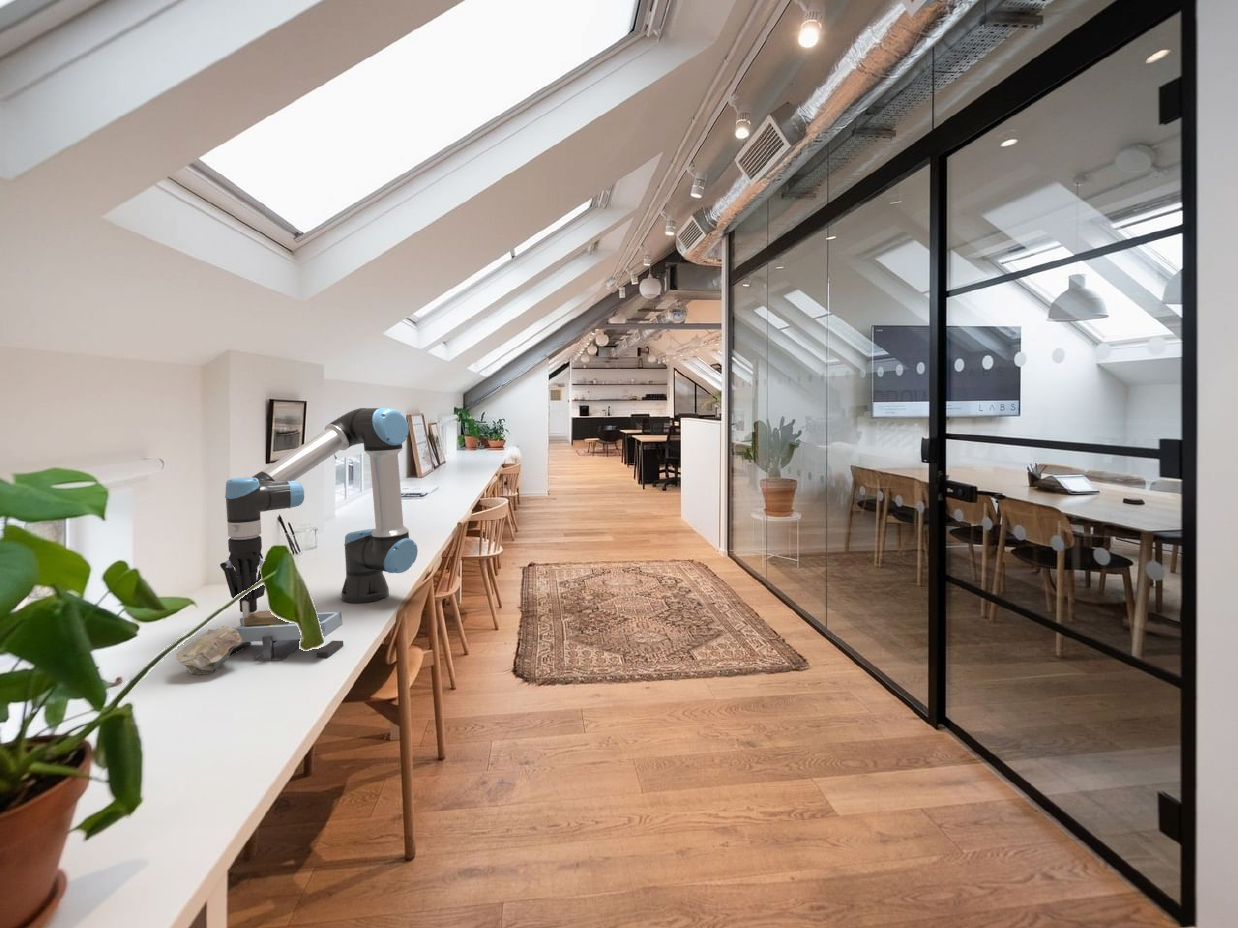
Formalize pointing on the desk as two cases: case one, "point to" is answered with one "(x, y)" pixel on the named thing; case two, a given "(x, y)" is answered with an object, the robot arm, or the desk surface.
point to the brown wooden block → (263, 619)
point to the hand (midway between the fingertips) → (249, 623)
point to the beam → (288, 628)
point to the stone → (209, 650)
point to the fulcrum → (286, 649)
